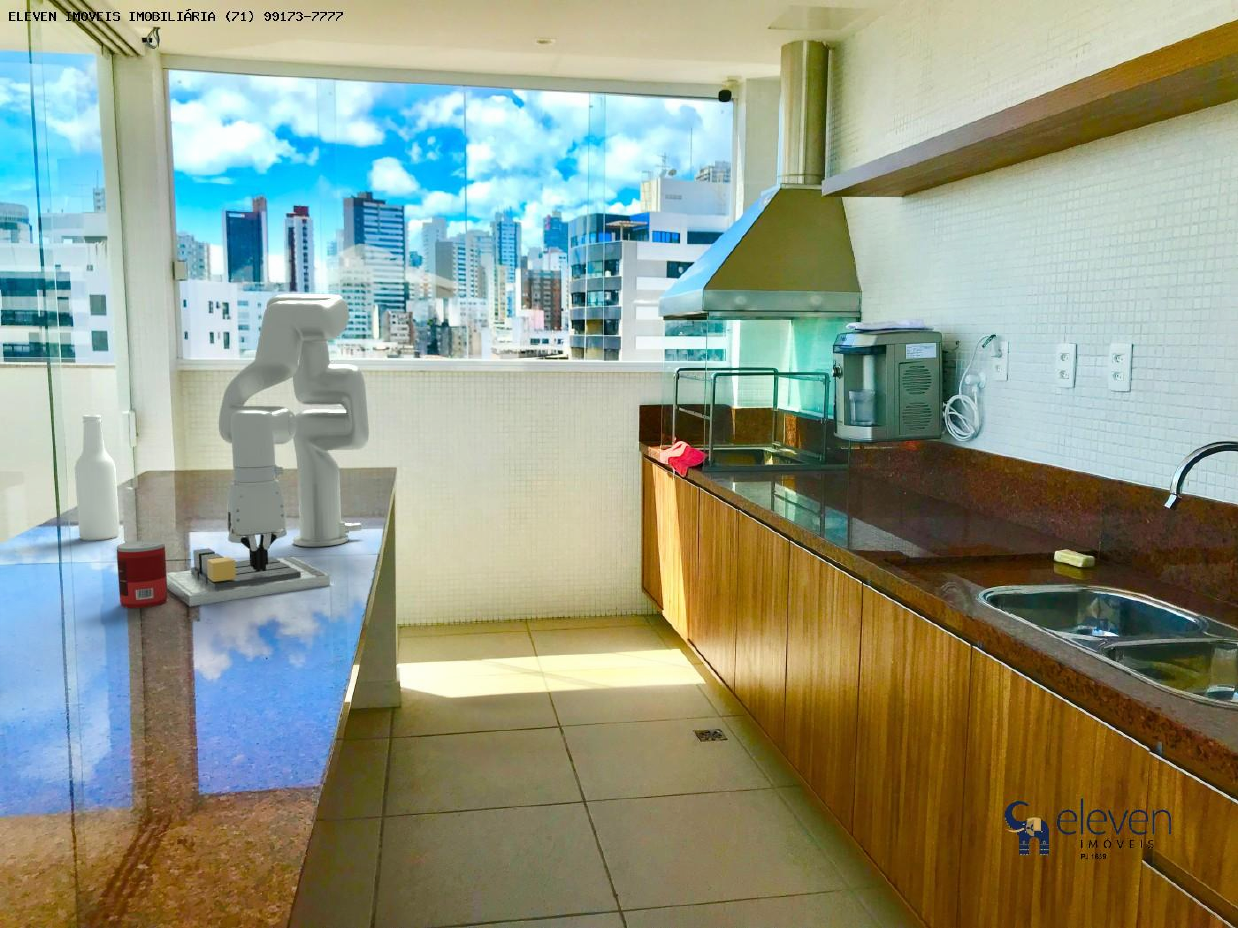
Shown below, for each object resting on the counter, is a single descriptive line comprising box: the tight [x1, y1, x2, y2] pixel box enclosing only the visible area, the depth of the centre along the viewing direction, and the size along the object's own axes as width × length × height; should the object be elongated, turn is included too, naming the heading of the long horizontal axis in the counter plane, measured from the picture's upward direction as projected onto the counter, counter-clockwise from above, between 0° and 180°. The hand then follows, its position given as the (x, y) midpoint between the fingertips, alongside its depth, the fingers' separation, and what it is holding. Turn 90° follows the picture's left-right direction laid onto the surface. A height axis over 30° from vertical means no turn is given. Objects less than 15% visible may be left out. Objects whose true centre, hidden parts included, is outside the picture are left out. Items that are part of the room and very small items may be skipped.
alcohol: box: [74, 414, 121, 542], centre depth 240 cm, size 9×9×30 cm
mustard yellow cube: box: [207, 556, 236, 582], centre depth 184 cm, size 4×4×4 cm
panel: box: [166, 547, 331, 607], centre depth 193 cm, size 26×21×6 cm
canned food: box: [116, 539, 168, 609], centre depth 179 cm, size 8×8×11 cm
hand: (259, 569), depth 189 cm, fingers closed
